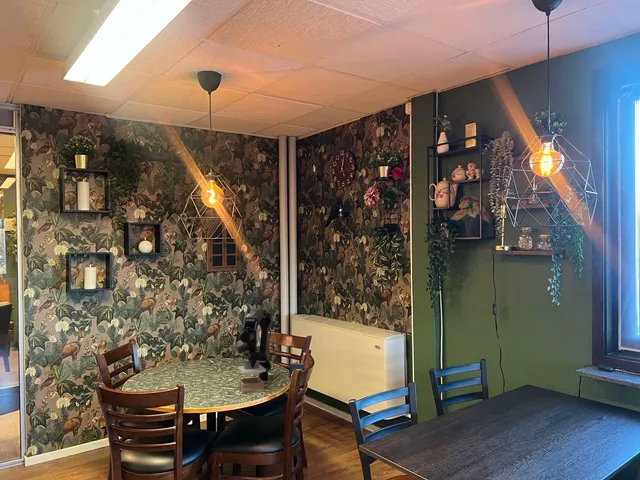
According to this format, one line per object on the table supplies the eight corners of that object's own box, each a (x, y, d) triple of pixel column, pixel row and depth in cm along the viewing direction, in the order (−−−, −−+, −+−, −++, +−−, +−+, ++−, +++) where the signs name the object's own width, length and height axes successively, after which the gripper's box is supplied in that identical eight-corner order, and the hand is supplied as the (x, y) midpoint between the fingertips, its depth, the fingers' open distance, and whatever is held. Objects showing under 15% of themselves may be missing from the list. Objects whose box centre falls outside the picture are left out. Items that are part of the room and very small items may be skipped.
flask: (304, 377, 296) (304, 360, 296) (304, 378, 293) (304, 361, 293) (289, 377, 296) (289, 360, 296) (289, 378, 293) (289, 361, 293)
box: (238, 387, 274) (238, 379, 275) (258, 385, 279) (258, 376, 279) (243, 393, 263) (243, 384, 263) (264, 391, 268) (264, 382, 268)
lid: (237, 369, 275) (237, 360, 275) (259, 367, 280) (259, 358, 280) (243, 375, 263) (243, 365, 263) (265, 373, 268) (265, 363, 268)
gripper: (234, 337, 277) (234, 364, 277) (241, 343, 260) (241, 372, 260) (252, 336, 281) (253, 362, 281) (261, 342, 264) (261, 370, 264)
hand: (251, 366), depth 271 cm, fingers closed on lid, 4 cm apart
